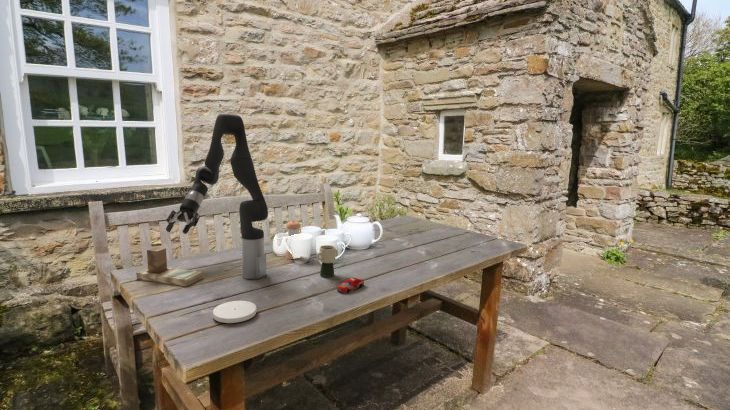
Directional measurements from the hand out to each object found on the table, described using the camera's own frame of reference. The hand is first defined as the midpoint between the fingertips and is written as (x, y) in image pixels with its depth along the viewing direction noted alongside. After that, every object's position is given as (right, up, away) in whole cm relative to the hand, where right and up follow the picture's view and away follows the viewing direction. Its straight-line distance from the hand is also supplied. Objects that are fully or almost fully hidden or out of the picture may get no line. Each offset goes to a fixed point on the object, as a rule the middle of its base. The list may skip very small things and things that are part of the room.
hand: (175, 232), depth 174 cm
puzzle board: (+2, -19, -10) cm, 21 cm away
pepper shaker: (+47, -15, +25) cm, 56 cm away
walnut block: (-3, -18, -8) cm, 20 cm away
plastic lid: (+40, -26, -40) cm, 62 cm away
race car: (+78, -23, -13) cm, 82 cm away
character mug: (+67, -19, +1) cm, 70 cm away
